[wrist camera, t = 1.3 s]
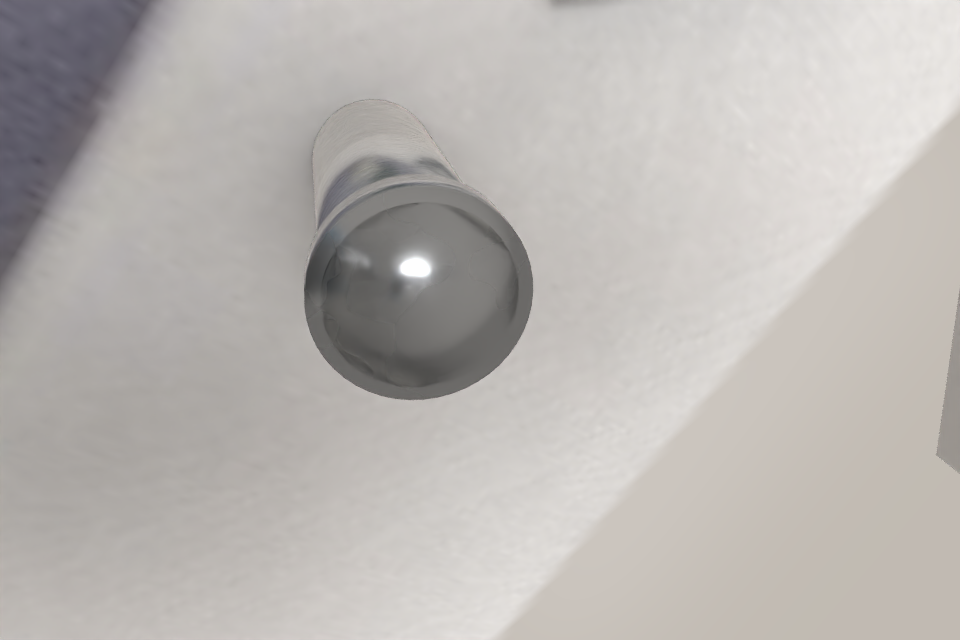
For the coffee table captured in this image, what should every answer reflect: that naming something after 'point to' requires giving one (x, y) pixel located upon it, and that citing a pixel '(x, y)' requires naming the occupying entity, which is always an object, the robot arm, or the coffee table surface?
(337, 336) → the grey cylinder
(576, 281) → the coffee table surface
